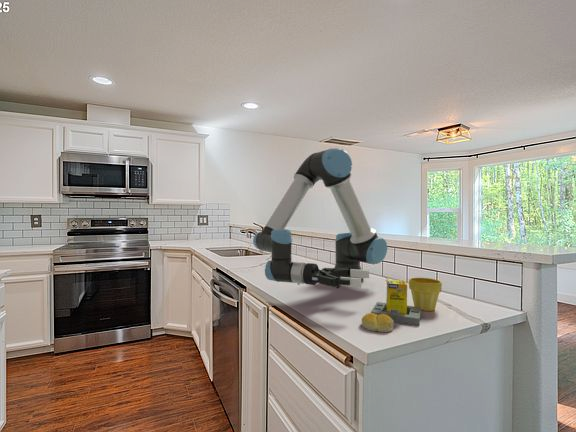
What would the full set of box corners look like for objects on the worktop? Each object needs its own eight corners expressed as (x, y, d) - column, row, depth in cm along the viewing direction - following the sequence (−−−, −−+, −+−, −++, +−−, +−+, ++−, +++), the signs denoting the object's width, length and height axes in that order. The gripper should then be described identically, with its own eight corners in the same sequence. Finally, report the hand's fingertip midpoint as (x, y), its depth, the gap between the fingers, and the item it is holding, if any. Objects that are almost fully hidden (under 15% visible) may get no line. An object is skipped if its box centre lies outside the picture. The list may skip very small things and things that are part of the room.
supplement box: (407, 319, 97) (407, 284, 97) (387, 317, 99) (387, 283, 99) (405, 313, 103) (405, 280, 103) (386, 312, 105) (386, 279, 104)
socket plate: (377, 307, 109) (377, 301, 109) (420, 313, 103) (420, 306, 103) (370, 318, 98) (370, 311, 98) (419, 325, 92) (419, 317, 92)
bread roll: (364, 321, 96) (364, 308, 96) (394, 325, 93) (394, 312, 93) (358, 330, 89) (358, 316, 89) (391, 335, 85) (392, 320, 85)
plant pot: (428, 303, 115) (428, 276, 115) (448, 311, 105) (448, 282, 105) (402, 304, 113) (403, 277, 113) (420, 313, 103) (421, 284, 103)
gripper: (317, 276, 125) (371, 281, 116) (291, 292, 102) (357, 299, 93) (317, 257, 125) (371, 261, 116) (291, 269, 102) (356, 274, 93)
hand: (365, 278), depth 104 cm, fingers open, 13 cm apart
